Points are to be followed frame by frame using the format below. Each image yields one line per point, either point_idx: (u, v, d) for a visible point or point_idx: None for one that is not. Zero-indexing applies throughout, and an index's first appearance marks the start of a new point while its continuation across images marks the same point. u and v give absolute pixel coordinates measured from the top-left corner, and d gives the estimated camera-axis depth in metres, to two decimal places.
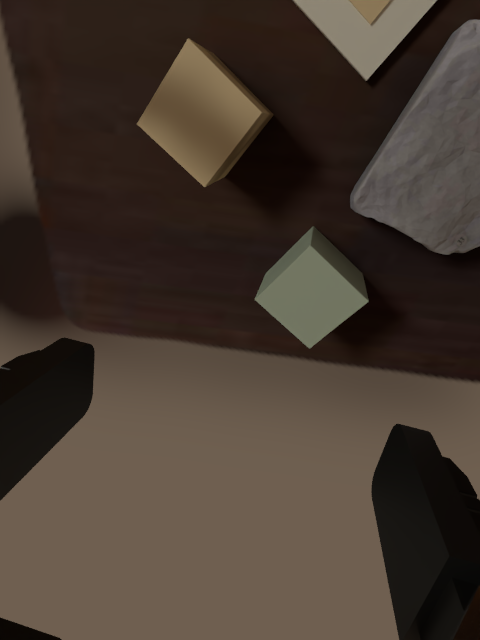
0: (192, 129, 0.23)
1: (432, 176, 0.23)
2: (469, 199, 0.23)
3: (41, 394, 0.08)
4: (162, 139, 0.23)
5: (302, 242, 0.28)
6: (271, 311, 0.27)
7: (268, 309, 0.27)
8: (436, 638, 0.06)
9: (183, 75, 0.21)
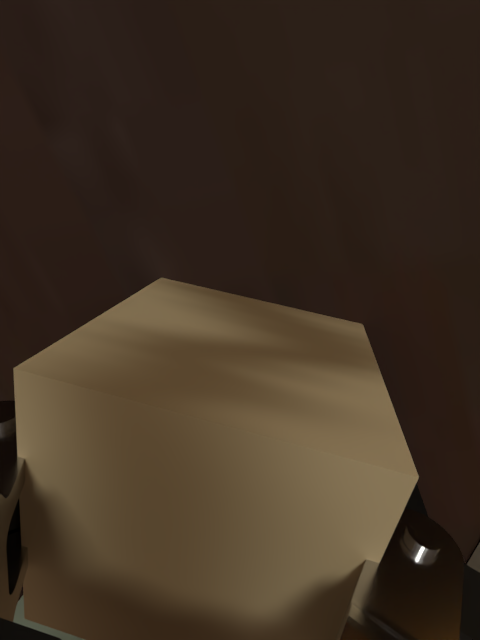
0: (140, 555, 0.06)
1: None
2: None
3: None
4: (41, 474, 0.06)
5: None
6: None
7: None
8: None
9: (280, 490, 0.05)
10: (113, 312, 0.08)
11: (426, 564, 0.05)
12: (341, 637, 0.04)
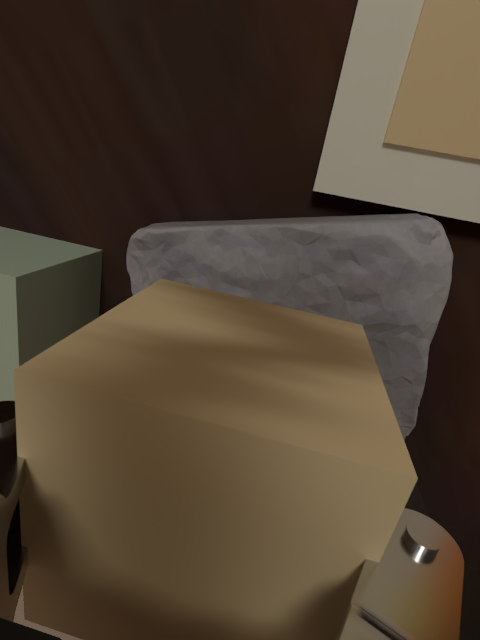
0: (139, 557, 0.06)
1: None
2: None
3: None
4: (40, 475, 0.06)
5: (52, 253, 0.15)
6: None
7: None
8: None
9: (279, 491, 0.05)
10: (113, 314, 0.08)
11: (426, 564, 0.05)
12: (341, 637, 0.04)
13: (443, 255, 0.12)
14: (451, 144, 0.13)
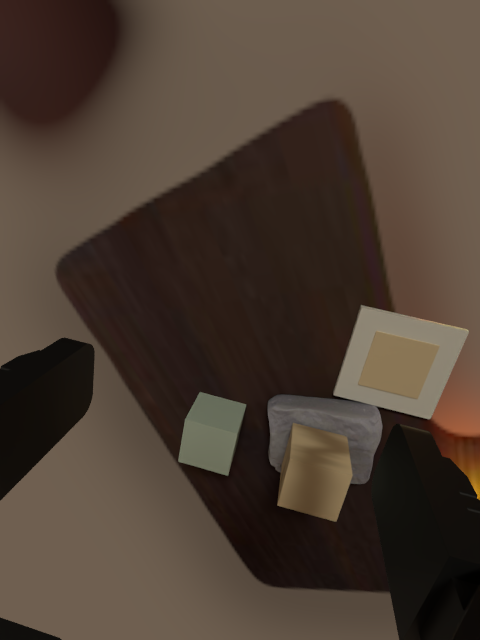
0: (306, 490, 0.34)
1: None
2: None
3: (41, 394, 0.08)
4: (290, 475, 0.34)
5: (234, 412, 0.41)
6: (185, 431, 0.39)
7: (184, 429, 0.39)
8: (437, 638, 0.06)
9: (332, 477, 0.33)
10: (292, 441, 0.35)
11: None
12: None
13: (378, 429, 0.37)
14: (380, 387, 0.38)
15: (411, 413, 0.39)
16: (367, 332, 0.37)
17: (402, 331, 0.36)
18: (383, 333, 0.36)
